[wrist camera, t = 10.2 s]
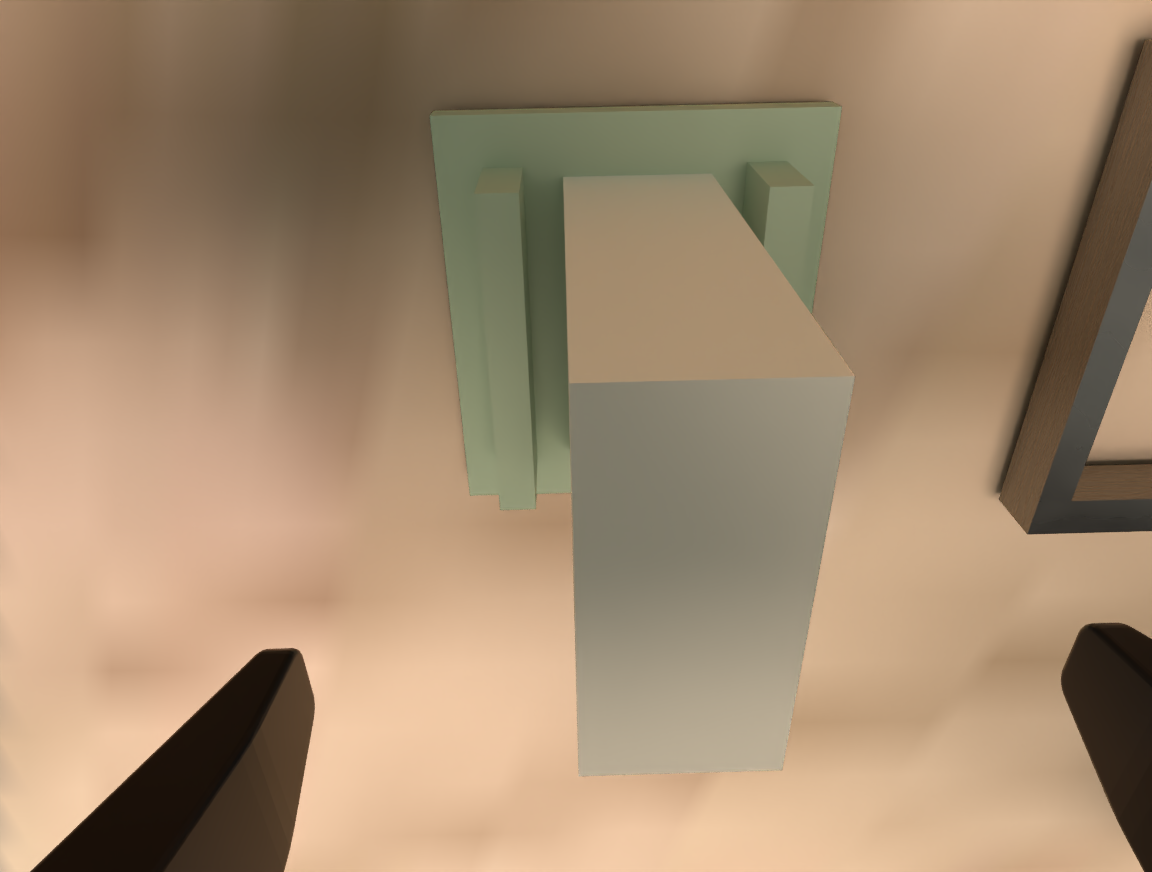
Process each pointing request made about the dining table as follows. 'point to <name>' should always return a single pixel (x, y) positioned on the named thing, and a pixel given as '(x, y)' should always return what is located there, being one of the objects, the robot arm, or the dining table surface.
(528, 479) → the holder
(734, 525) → the long rectangular block
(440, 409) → the dining table surface
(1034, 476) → the frame
